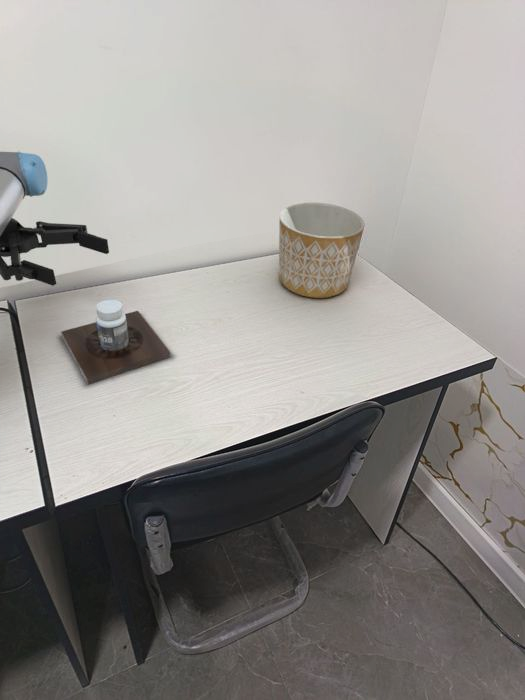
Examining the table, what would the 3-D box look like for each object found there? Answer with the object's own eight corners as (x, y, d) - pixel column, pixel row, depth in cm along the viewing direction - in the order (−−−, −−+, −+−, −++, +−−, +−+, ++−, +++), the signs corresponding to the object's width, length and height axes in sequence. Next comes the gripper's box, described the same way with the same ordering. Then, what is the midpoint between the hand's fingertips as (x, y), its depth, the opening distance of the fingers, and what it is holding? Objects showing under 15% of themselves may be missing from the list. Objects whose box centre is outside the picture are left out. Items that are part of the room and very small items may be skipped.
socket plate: (87, 384, 89) (86, 378, 88) (62, 337, 99) (60, 331, 98) (170, 357, 96) (169, 351, 95) (138, 316, 106) (137, 310, 105)
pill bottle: (95, 347, 97) (87, 306, 91) (117, 335, 100) (111, 294, 94) (113, 359, 94) (106, 317, 88) (135, 346, 98) (130, 305, 92)
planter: (301, 310, 112) (310, 243, 102) (260, 271, 125) (264, 209, 114) (368, 292, 120) (382, 228, 110) (322, 257, 133) (331, 197, 122)
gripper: (47, 228, 106) (128, 253, 99) (-59, 278, 87) (32, 312, 81) (39, 194, 101) (123, 217, 94) (-74, 239, 83) (21, 272, 76)
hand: (81, 261), depth 88 cm, fingers open, 13 cm apart
